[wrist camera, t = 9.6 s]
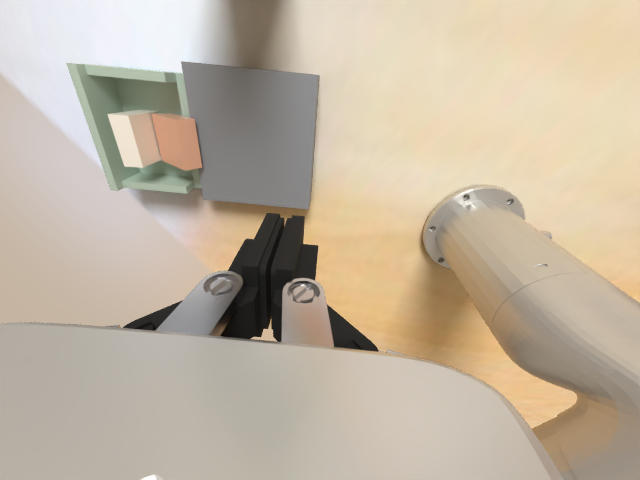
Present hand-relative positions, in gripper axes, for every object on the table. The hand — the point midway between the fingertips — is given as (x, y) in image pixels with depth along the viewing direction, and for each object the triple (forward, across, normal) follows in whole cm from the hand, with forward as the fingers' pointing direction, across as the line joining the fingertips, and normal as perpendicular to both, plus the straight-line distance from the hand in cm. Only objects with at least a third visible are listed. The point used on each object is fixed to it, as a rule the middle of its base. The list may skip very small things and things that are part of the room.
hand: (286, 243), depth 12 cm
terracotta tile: (+20, +14, 0) cm, 25 cm away
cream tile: (+19, +18, 0) cm, 26 cm away
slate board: (+22, +6, 0) cm, 23 cm away
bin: (+22, +18, 0) cm, 29 cm away
